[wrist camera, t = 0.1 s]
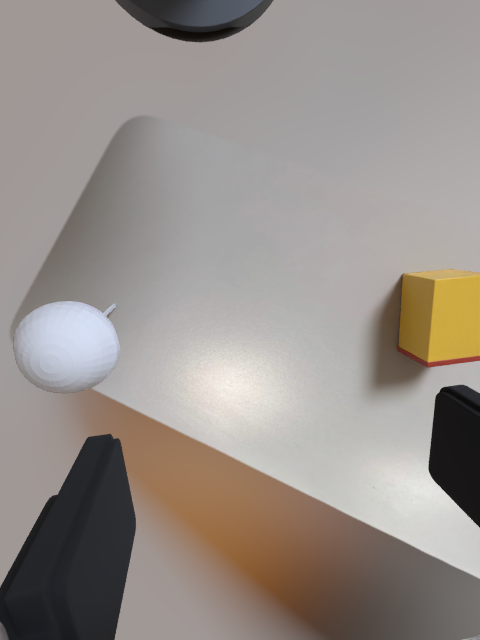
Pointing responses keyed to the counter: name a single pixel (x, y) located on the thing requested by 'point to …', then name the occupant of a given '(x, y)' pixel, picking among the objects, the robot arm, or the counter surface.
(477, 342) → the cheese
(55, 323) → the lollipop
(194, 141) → the counter surface
